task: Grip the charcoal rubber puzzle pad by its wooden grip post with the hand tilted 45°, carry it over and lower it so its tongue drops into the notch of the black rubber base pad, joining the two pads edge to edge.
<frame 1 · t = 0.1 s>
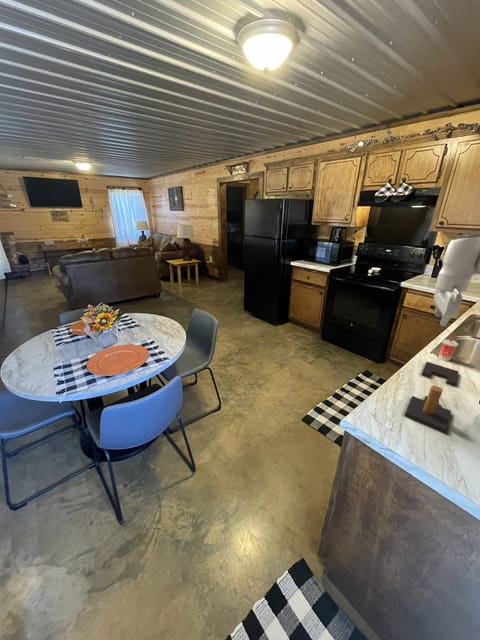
hand: (440, 320, 95), 30 cm above the counter, tool pointing down, fingers open, 8 cm apart
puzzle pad: (427, 414, 94), on the counter
beverage cup: (444, 358, 129), on the counter
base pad: (439, 374, 116), on the counter
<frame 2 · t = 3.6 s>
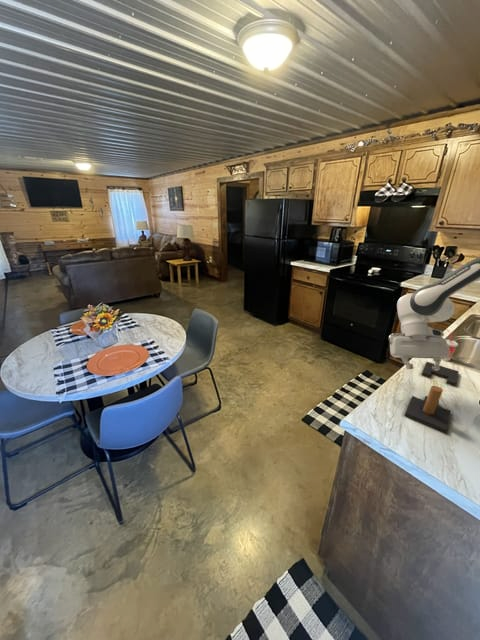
hand: (423, 369, 96), 13 cm above the counter, tool tilted 45°, fingers open, 8 cm apart
nothing on the counter moved.
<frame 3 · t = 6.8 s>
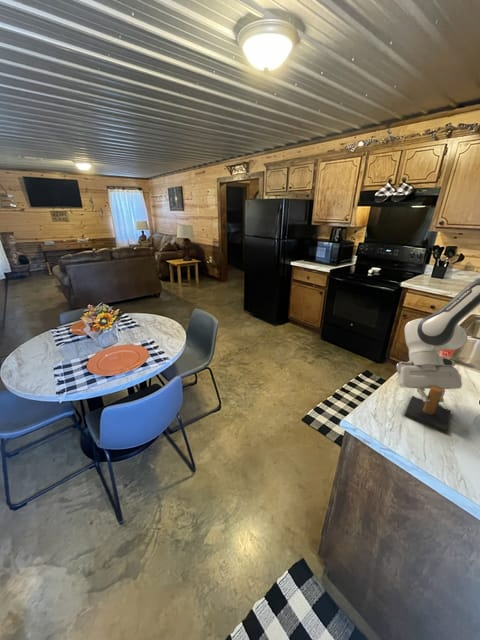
hand: (433, 401, 90), 6 cm above the counter, tool tilted 45°, fingers closed on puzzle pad, 3 cm apart
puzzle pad: (427, 414, 94), on the counter, touching gripper
everything else where it was.
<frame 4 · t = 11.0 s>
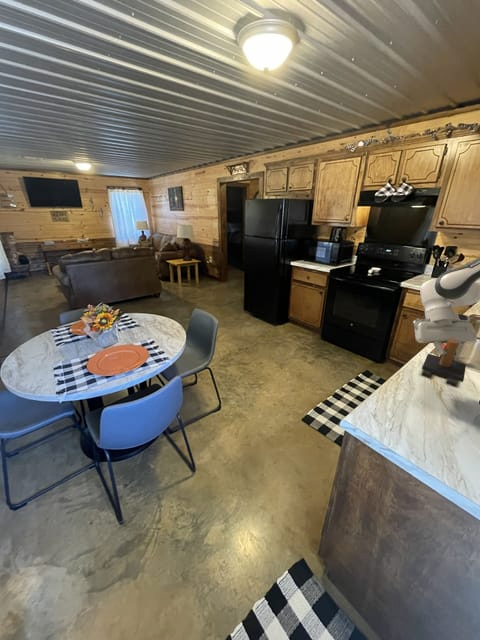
hand: (450, 354, 95), 19 cm above the counter, tool tilted 45°, fingers closed on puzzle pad, 3 cm apart
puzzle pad: (443, 368, 98), point 13 cm above the counter, touching gripper
everything else where it was.
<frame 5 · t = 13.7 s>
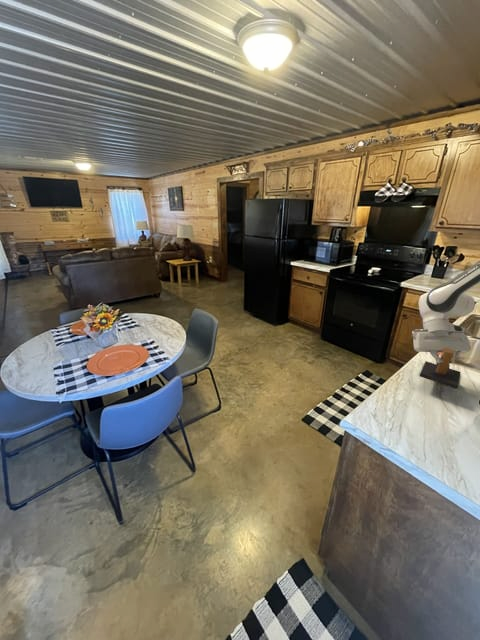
hand: (445, 363, 102), 12 cm above the counter, tool tilted 45°, fingers closed on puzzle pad, 3 cm apart
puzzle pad: (439, 375, 105), point 6 cm above the counter, touching gripper
everything else where it was.
when the fingers open (6 cm above the counter, at t = 15.7 s): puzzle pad stays where it is, on the counter.
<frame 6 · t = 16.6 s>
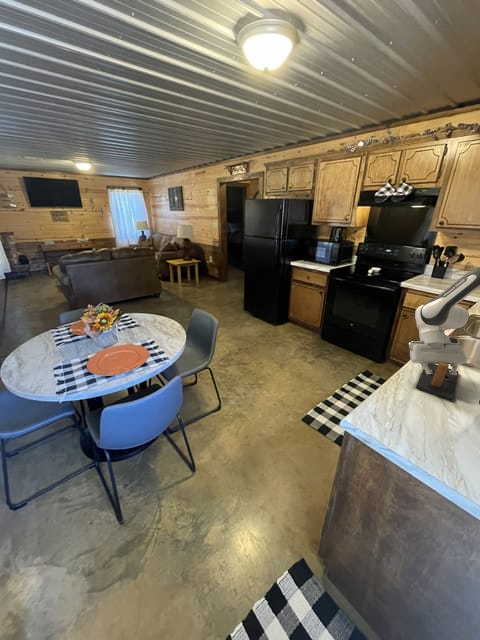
hand: (441, 374, 104), 7 cm above the counter, tool tilted 45°, fingers open, 8 cm apart
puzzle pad: (435, 387, 108), on the counter
everything else where it was.
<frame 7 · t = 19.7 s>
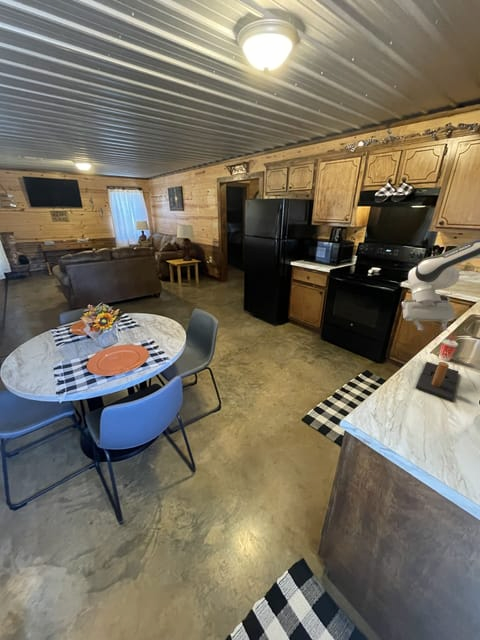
hand: (432, 330, 110), 21 cm above the counter, tool tilted 45°, fingers open, 8 cm apart
nothing on the counter moved.
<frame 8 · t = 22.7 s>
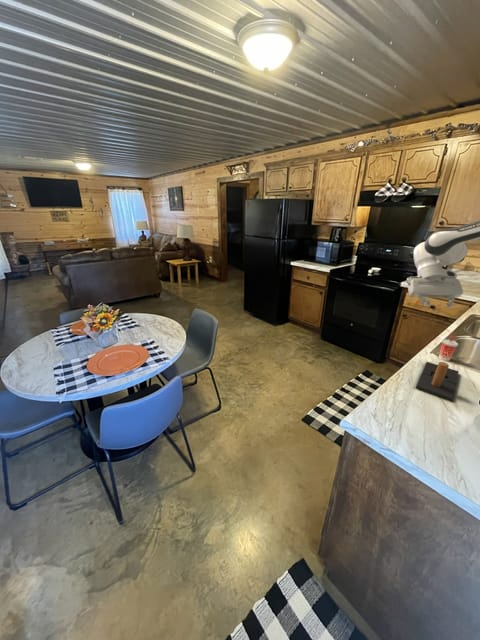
hand: (438, 306, 107), 31 cm above the counter, tool tilted 45°, fingers open, 8 cm apart
nothing on the counter moved.
at the end: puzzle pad 1.3 cm from the target spot on the counter beside the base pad, on the counter; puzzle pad tilted 0°; the gripper is holding nothing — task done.
